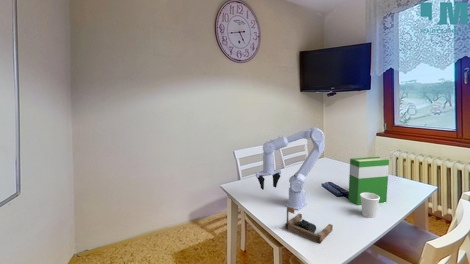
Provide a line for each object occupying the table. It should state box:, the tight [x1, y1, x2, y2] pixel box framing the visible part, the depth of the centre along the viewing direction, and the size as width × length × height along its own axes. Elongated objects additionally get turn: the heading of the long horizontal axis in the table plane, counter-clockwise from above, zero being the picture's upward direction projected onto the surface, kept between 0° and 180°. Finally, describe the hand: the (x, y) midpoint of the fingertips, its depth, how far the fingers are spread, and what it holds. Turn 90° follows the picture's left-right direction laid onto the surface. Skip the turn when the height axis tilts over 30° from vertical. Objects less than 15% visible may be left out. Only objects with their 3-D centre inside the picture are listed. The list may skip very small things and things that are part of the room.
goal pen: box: [284, 206, 334, 244], centre depth 100 cm, size 12×16×10 cm
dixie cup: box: [360, 193, 380, 219], centre depth 112 cm, size 8×8×10 cm
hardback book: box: [348, 156, 390, 207], centre depth 126 cm, size 18×7×24 cm, turn 99°
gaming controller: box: [294, 218, 317, 234], centre depth 101 cm, size 10×5×6 cm
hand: (268, 187), depth 126 cm, fingers open, 7 cm apart
